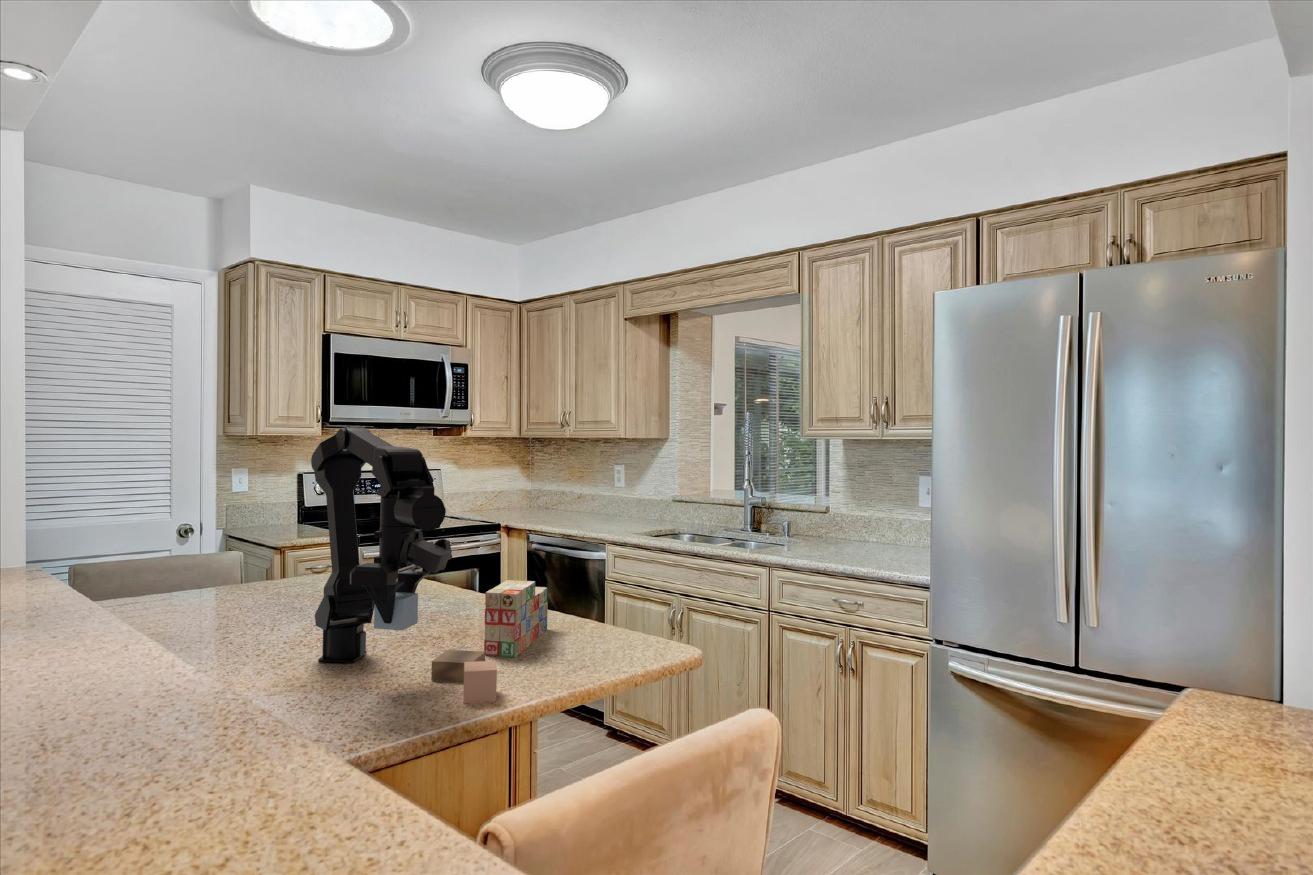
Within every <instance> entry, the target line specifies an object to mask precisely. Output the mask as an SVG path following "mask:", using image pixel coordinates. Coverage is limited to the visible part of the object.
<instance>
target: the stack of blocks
mask: <svg viewBox="0 0 1313 875" xmlns="http://www.w3.org/2000/svg"><path fill="white" fill-rule="evenodd" d="M484 595H485V596H484V597H485V600H484V601H485V602H484V606H485V607H484V640H483V641H484V642H483V647H484V649H483V651H484V652H485V657H486V656H487V657H488V656H489V657H505V658H516V657H517V656H518V655H519V654H521V653H522V652H524V650H526V649H527V648H528V647H529V646H530V645H531V644H532V643H533V642H534V641H535V640H536V639H538V638H539V637H540V636H542V635H543V634H544V633H545V632H546V631H547V630H548V613H549V611H548V607H549V606H548V587H545V586H536V581H535V580H533V581H532V580H513V579H507V580H505V581H503V582H502V583H499V584H498V585H496V586H495V587H493V588H490V589H489V590H488V591H486V592H485V594H484Z"/></svg>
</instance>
